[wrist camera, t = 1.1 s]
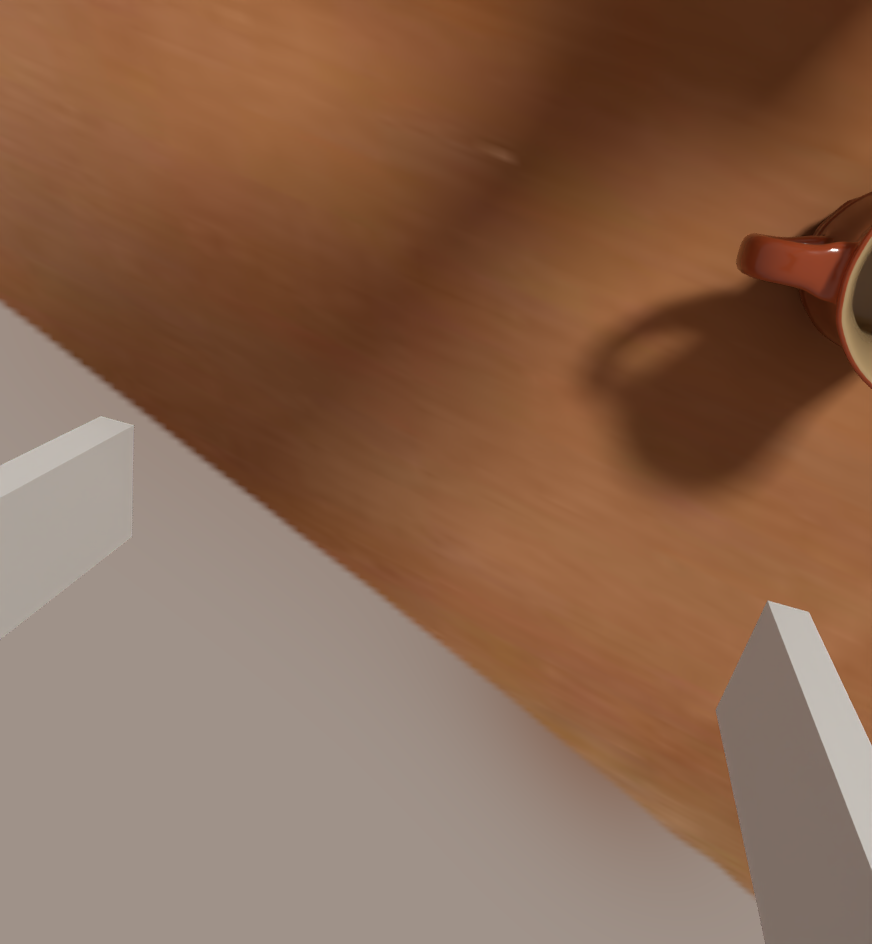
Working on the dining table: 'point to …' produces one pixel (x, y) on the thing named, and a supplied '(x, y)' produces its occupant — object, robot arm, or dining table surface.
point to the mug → (826, 276)
